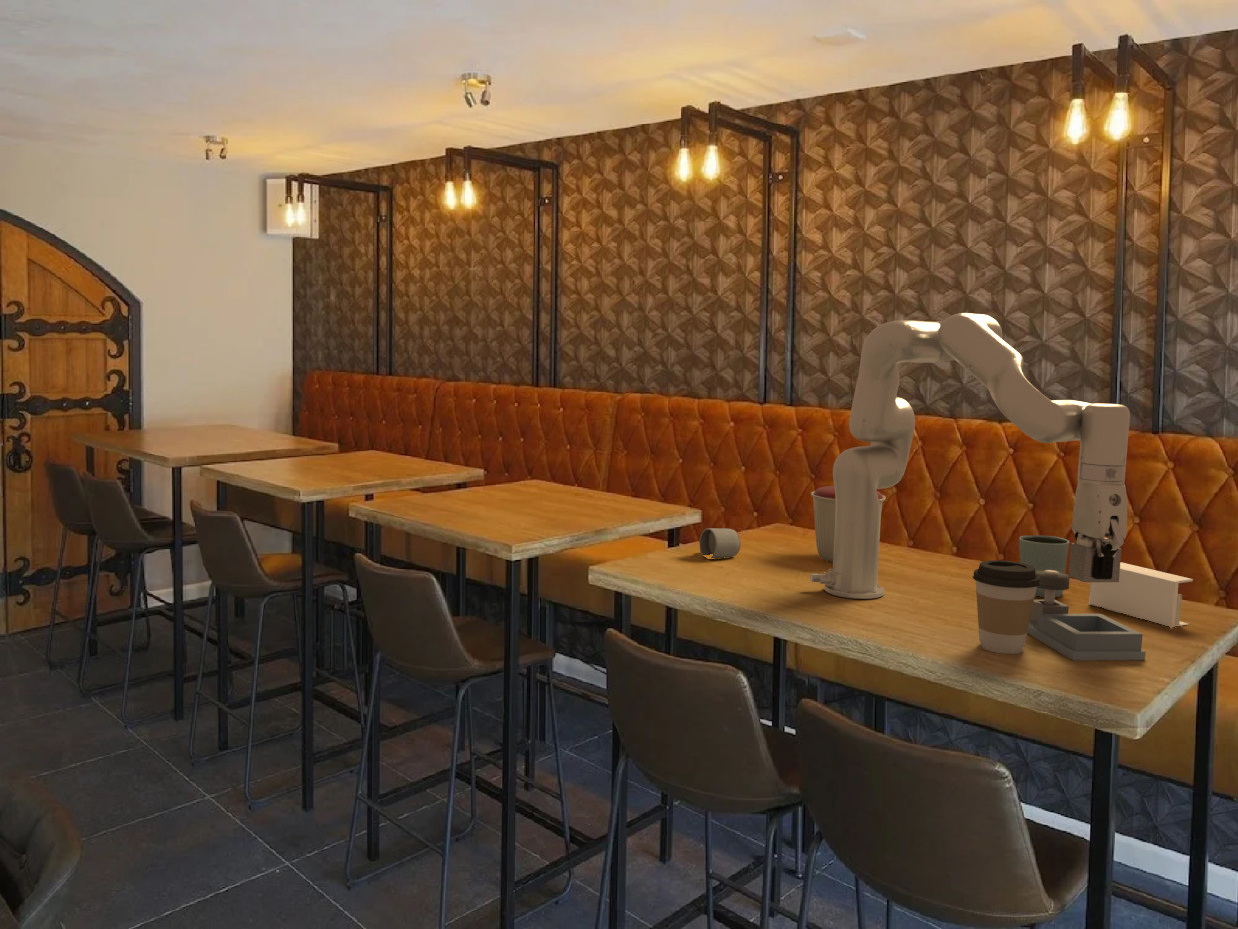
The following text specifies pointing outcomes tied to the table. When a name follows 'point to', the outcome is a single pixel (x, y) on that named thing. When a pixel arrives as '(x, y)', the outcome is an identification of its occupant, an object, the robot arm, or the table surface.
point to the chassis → (1084, 634)
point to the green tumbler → (1044, 555)
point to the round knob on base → (1052, 584)
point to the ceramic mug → (719, 542)
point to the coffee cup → (1004, 604)
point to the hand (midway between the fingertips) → (1093, 574)
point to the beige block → (1089, 561)
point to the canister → (827, 519)
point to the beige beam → (1141, 595)
